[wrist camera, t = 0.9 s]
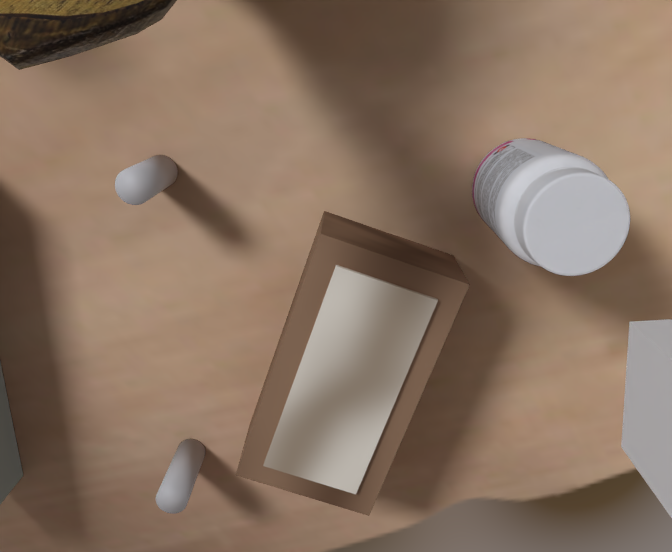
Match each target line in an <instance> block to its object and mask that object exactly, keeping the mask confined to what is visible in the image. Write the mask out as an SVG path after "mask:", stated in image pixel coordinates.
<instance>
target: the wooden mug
mask: <svg viewBox="0 0 672 552" xmlns="http://www.w3.org/2000/svg"><path fill="white" fill-rule="evenodd" d="M176 1H177V0H0V57H2V58H4V59H5V60H6V61H8V62H9V63H11V64H12V65H13V66H15V67H16V68H17V69H19V70H20V69H24V68H27V67H31V66H35V65H39V64H42V63H46V62H50V61H54V60H57V59H61V58H65V57H69V56H72V55H75V54H78V53H81V52H84V51H87V50H90V49H93V48H96V47H99V46H102V45H105V44H108V43H111V42H114V41H117V40H120V39H123V38H126V37H128V36H131V35H134V34H137V33H139V32H140V31H142V30H144V29H146V28H147V27H149V26H151V25H153V24H154V23H156V22H158V21H160V20H161V19H162V18H163V17H164V16H165V15H166V13H167V12H168V11H169V9H170V8H171V7H172V6H173V4H174V3H175V2H176Z"/></svg>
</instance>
